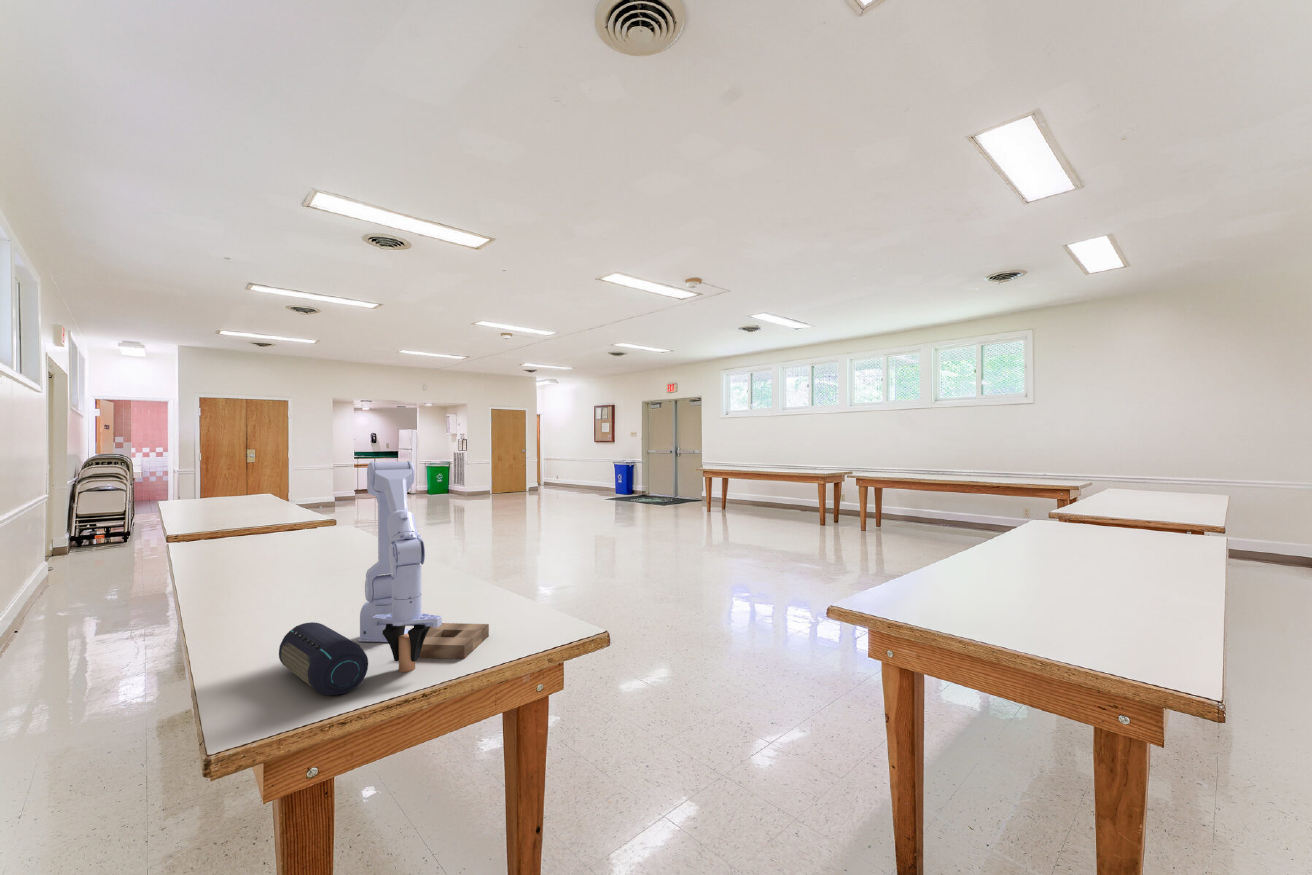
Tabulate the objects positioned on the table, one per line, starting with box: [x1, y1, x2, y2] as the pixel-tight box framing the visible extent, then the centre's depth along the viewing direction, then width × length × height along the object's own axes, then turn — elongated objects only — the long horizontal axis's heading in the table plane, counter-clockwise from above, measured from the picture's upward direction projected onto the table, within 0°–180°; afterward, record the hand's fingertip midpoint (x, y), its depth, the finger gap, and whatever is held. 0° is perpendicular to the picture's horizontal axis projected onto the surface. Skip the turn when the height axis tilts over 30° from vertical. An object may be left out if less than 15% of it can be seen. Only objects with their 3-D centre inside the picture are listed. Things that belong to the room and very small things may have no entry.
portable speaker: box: [278, 621, 369, 696], centre depth 109 cm, size 25×10×10 cm, turn 51°
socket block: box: [419, 622, 490, 660], centre depth 127 cm, size 14×14×3 cm
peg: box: [398, 634, 416, 673], centre depth 114 cm, size 3×3×7 cm
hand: (407, 659), depth 114 cm, fingers closed on peg, 3 cm apart
